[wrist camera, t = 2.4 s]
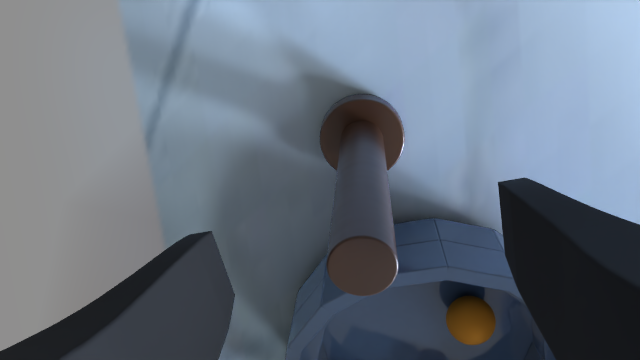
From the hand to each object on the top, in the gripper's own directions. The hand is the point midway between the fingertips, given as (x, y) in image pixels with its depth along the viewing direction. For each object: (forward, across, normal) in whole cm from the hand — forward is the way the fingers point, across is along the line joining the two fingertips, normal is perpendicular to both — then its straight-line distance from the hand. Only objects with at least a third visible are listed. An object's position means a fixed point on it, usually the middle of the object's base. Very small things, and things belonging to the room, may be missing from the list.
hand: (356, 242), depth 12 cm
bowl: (+8, -1, +10) cm, 13 cm away
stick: (+8, 0, 0) cm, 8 cm away
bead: (+6, -3, +8) cm, 11 cm away
